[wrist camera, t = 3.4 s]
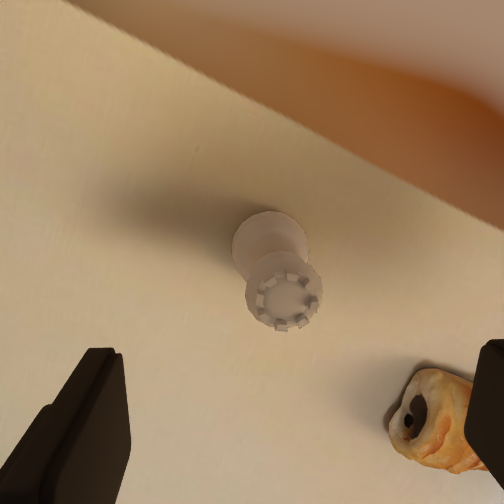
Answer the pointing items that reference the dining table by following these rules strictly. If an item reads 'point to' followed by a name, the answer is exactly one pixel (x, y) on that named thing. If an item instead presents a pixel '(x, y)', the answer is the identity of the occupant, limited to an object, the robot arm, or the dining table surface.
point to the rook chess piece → (277, 270)
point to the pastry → (435, 422)
